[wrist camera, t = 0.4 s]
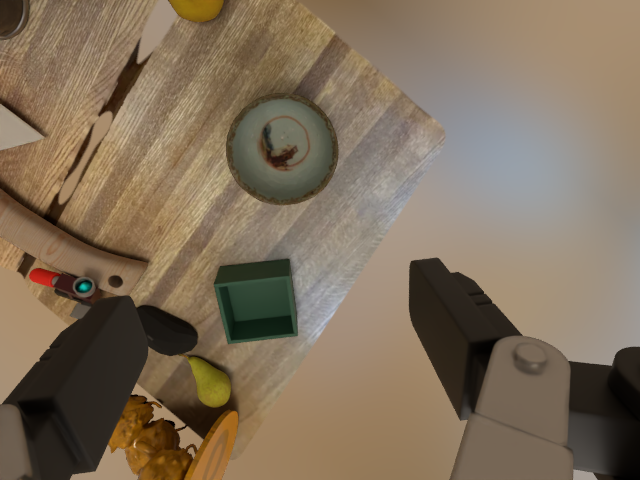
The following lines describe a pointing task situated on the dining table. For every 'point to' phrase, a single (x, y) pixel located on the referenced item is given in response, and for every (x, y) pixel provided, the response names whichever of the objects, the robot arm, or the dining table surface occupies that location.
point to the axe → (58, 230)
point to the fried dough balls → (171, 445)
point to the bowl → (282, 149)
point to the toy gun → (69, 289)
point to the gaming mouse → (166, 332)
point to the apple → (197, 9)
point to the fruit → (210, 382)
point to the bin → (257, 301)
